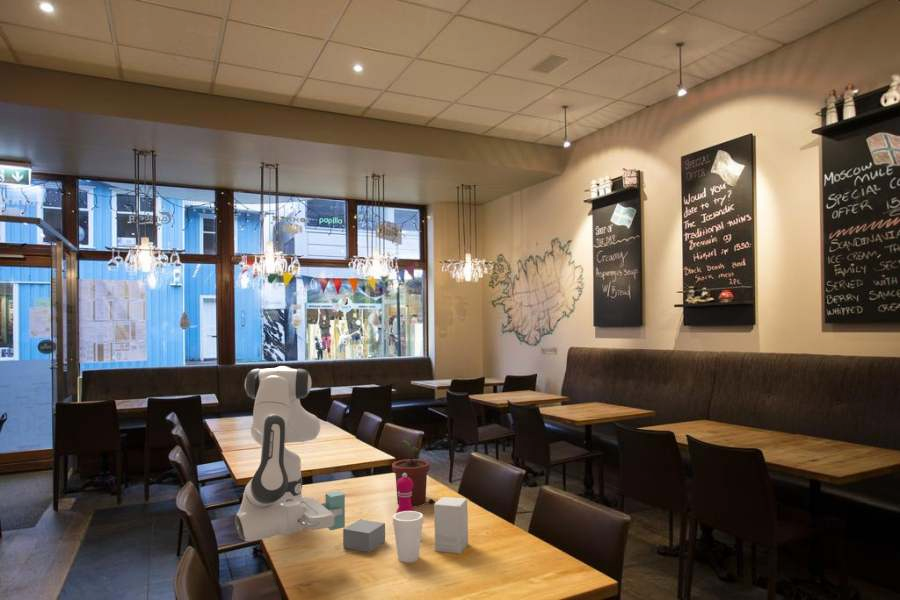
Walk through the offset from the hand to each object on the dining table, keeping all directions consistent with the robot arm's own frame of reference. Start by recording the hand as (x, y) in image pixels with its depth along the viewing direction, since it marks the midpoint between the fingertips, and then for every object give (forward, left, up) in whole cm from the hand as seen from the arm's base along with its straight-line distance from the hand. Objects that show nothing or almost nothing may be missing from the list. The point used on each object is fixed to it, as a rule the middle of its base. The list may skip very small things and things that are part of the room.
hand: (337, 508), depth 174 cm
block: (0, -1, -5) cm, 6 cm away
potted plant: (-7, +63, -17) cm, 66 cm away
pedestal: (0, +15, -16) cm, 22 cm away
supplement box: (+28, +24, -17) cm, 40 cm away
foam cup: (+19, +11, -17) cm, 27 cm away
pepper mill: (+6, +32, -17) cm, 37 cm away
